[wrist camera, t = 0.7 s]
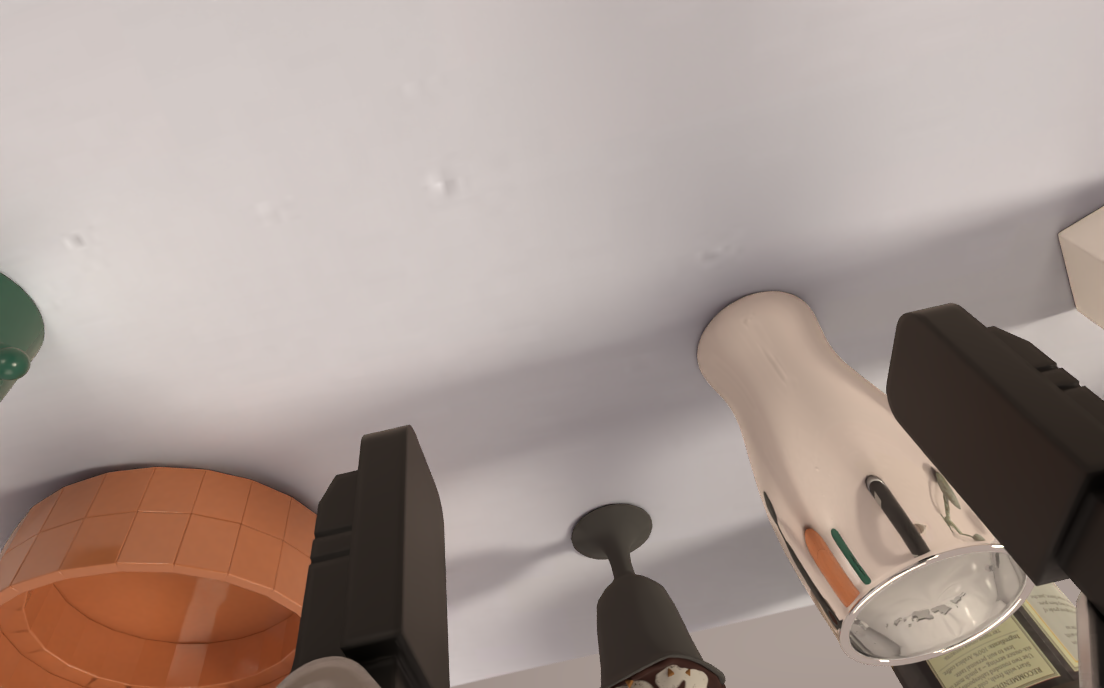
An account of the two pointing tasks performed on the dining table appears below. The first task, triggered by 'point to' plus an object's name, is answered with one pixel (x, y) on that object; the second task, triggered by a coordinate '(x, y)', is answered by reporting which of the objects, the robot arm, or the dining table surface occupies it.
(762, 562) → the dining table surface
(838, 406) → the beer glass
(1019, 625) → the coffee can
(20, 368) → the kettle
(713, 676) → the sundae
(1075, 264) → the milk
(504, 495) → the dining table surface
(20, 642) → the bowl
